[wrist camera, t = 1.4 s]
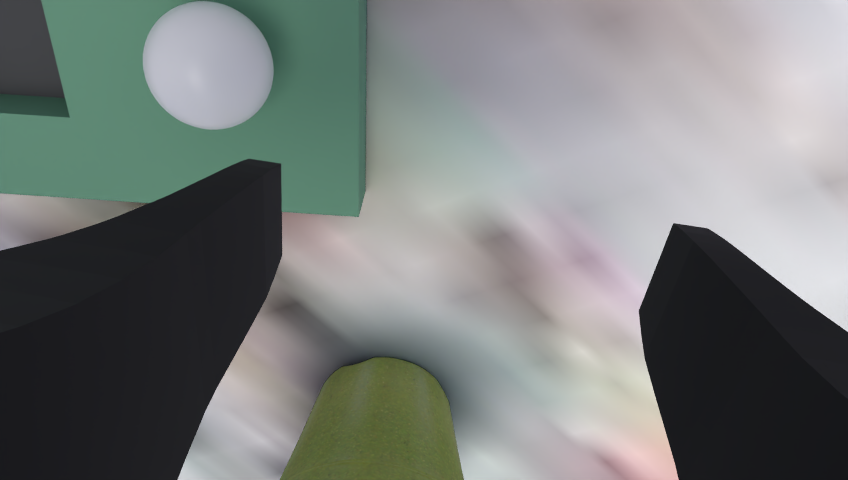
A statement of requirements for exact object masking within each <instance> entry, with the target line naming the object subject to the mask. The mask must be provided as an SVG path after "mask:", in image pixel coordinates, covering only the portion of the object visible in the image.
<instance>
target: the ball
mask: <svg viewBox="0 0 848 480" xmlns="http://www.w3.org/2000/svg"><path fill="white" fill-rule="evenodd" d="M143 70H144V74H145V79H146V82H147V84H148V87H149V89H150V91H151V93H152V94H153V96H154V98H155V99H156V100H157V102H158V103H159V104H160V105H161V106H162V107H163V108H164V109H165V110H166V111H167V112H168V113H169V114H170V115H172V116H173V117H175V118H176V119H178V120H179V121H181V122H183V123H185V124H188V125H191V126H193V127H197V128H201V129H209V130H218V129H226V128H230V127H234V126H236V125H239V124H241V123H243V122H245V121H247V120H248V119H250V118H251V117H252V116H253V115H254V114H256V113H257V112H258V111H259V109H260V108H261V107H262V106H263V104H264V103H265V101H266V99H267V97H268V95H269V93H270V90H271V87H272V82H273V75H274V66H273V59H272V55H271V51H270V49H269V46H268V44H267V41H266V40H265V38H264V36H263V34H262V33H261V31H260V30H259V29H258V28H257V26H256V25H255V24H254V23H253V22H252V21H251V20H250V19H249V18H247V17H246V16H245V15H243V14H242V13H241V12H239V11H237V10H235V9H233V8H231V7H229V6H227V5H224V4H220V3H217V2H209V1H195V2H189V3H186V4H182V5H179V6H177V7H175V8H173V9H171V10H170V11H168V12H167V13H165V14H164V15H163V16H161V17H160V18H159V19H158V20H157V22H156V23H155V24H154V26H153V27H152V29H151V30H150V32H149V34H148V36H147V39H146V42H145V45H144V51H143Z"/></svg>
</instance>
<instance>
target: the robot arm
mask: <svg viewBox="0 0 848 480" xmlns="http://www.w3.org/2000/svg"><path fill="white" fill-rule="evenodd" d="M281 257H282V189H281V163H275V162H268V161H262V160H255V159H246V160H243V161H240V162H238V163H236V164H233V165H231V166H229V167H227V168H224V169H222V170H220V171H218V172H216V173H214V174H212V175H210V176H208V177H206V178H204V179H202V180H199V181H197V182H195V183H193V184H191V185H189V186H187V187H185V188H183V189H181V190H178V191H176V192H174V193H172V194H170V195H168V196H165V197H163V198H161V199H158V200H156V201H153V202H151V203H149V204H146V205H144V206H142V207H139V208H137V209H134V210H132V211H130V212H127V213H125V214H123V215H120V216H117V217H115V218H112V219H110V220H107V221H104V222H101V223H98V224H95V225H93V226H89V227H86V228H83V229H80V230H77V231H74V232H70V233H67V234H64V235H61V236H57V237H54V238H50V239H47V240H42V241H38V242H34V243H30V244H26V245H22V246H18V247H14V248H10V249H6V250H2V251H0V480H177V479H178V477H179V474H180V472H181V469H182V466H183V464H184V461H185V459H186V456H187V454H188V451H189V449H190V447H191V444H192V442H193V439H194V437H195V435H196V432H197V430H198V427H199V425H200V423H201V420H202V418H203V415H204V413H205V411H206V409H207V406H208V404H209V402H210V400H211V398H212V396H213V394H214V392H215V390H216V388H217V387H218V385H219V383H220V381H221V379H222V378H223V376H224V374H225V372H226V370H227V369H228V367H229V365H230V363H231V361H232V360H233V358H234V356H235V354H236V352H237V351H238V349H239V347H240V345H241V343H242V342H243V340H244V338H245V336H246V334H247V333H248V331H249V329H250V327H251V325H252V323H253V322H254V320H255V318H256V316H257V314H258V312H259V311H260V309H261V307H262V305H263V303H264V301H265V299H266V297H267V295H268V292H269V290H270V287H271V284H272V282H273V279H274V277H275V274H276V271H277V268H278V265H279V263H280V260H281ZM639 316H640V326H641V335H642V342H643V349H644V356H645V361H646V364H647V368H648V372H649V375H650V379H651V382H652V386H653V390H654V393H655V397H656V400H657V403H658V407H659V410H660V414H661V417H662V420H663V424H664V427H665V431H666V434H667V438H668V441H669V444H670V448H671V451H672V455H673V458H674V462H675V465H676V470H677V474H678V478H679V480H848V332H847V331H846V330H844V329H843V328H841V327H840V326H838V325H837V324H836V323H834V322H833V321H831V320H830V319H828V318H827V317H826V316H824V315H823V314H821V313H820V312H819V311H817V310H816V309H814V308H813V307H812V306H810V305H809V304H808V303H806V302H805V301H804V300H802V299H801V298H800V297H798V296H797V295H796V294H794V293H793V292H792V291H790V290H789V289H788V288H786V287H785V286H784V285H783V284H781V283H780V282H779V281H777V280H776V279H775V278H774V277H772V276H771V275H770V274H769V273H767V272H766V271H765V270H763V269H762V268H761V267H760V266H758V265H757V264H756V263H755V262H753V261H752V260H751V259H749V258H748V257H747V256H746V255H744V254H743V253H742V252H741V251H739V250H738V249H737V248H735V247H734V246H733V245H731V244H730V243H729V242H727V241H726V240H725V239H723V238H722V237H720V236H719V235H717V234H716V233H714V232H713V231H711V230H709V229H707V228H701V227H695V226H688V225H681V224H675V223H673V226H672V228H671V231H670V233H669V236H668V238H667V241H666V243H665V246H664V248H663V251H662V254H661V256H660V259H659V261H658V264H657V266H656V269H655V271H654V274H653V276H652V279H651V281H650V284H649V286H648V289H647V292H646V294H645V297H644V299H643V302H642V304H641V307H640V309H639Z"/></svg>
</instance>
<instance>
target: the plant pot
mask: <svg viewBox="0 0 848 480" xmlns="http://www.w3.org/2000/svg"><path fill="white" fill-rule="evenodd" d="M280 480H464V478H463V473H462V469H461V464H460V459H459V454H458V449H457V444H456V438H455V432H454V427H453V421H452V416H451V411H450V405H449V401H448V399H447V397H446V395H445V393H444V391H443V389H442V388H441V386H440V384H439V382H438V381H437V380H436V378H435V377H434V376H432V375H431V374H430V373H429V372H427V371H426V370H424V369H423V368H421V367H419V366H417V365H415V364H413V363H410V362H407V361H404V360H400V359H395V358H387V357H374V358H371V359H369V360H366V361H364V362H361V363H358V364H354V365H351V366H343V367H341V368H339V369H338V370H337V371H335V372H334V373H333V374H332V375H331V376H330V377H329V378H328V379H327V380H326V382H325V383H324V385H323V387H322V389H321V391H320V394H319V396H318V398H317V400H316V402H315V404H314V407H313V409H312V411H311V413H310V416H309V418H308V420H307V423H306V425H305V427H304V429H303V432H302V434H301V436H300V438H299V440H298V443H297V445H296V447H295V449H294V451H293V453H292V455H291V457H290V459H289V462H288V464H287V466H286V468H285V470H284V472H283V474H282V476H281V478H280Z"/></svg>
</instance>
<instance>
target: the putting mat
mask: <svg viewBox="0 0 848 480" xmlns="http://www.w3.org/2000/svg"><path fill="white" fill-rule="evenodd" d="M195 1H209V2H217V3H220V4H224V5H227V6H229V7H231V8H233V9H235V10H237V11H239V12H241V13H242V14H243V15H245V16H246V17H247V18H249V19H250V20H251V21H252V22H253V23H254V24H255V25H256V26H257V28H258V29H259V30H260V31H261V33H262V34H263V36H264V38H265V40H266V41H267V44H268V46H269V49H270V51H271V55H272V59H273V66H274V75H273V82H272V87H271V90H270V93H269V95H268V97H267V99H266V101H265V103H264V104H263V106H262V107H261V108H260V109H259V111H258V112H257V113H256V114H254V115H253V116H252V117H251V118H250V119H248V120H247V121H245V122H243V123H241V124H239V125H236V126H234V127H230V128H226V129H218V130H209V129H201V128H197V127H193V126H191V125H188V124H185V123H183V122H181V121H179V120H178V119H176V118H175V117H173V116H172V115H170V114H169V113H168V112H167V111H166V110H165V109H164V108H163V107H162V106H161V105H160V104H159V103H158V102H157V100H156V99H155V98H154V96H153V94H152V93H151V91H150V89H149V87H148V84H147V82H146V79H145V74H144V70H143V51H144V45H145V42H146V39H147V36H148V34H149V32H150V30H151V29H152V27H153V26H154V24H155V23H156V22H157V20H158V19H159V18H160V17H161V16H163V15H164V14H165V13H167V12H168V11H170V10H171V9H173V8H175V7H177V6H179V5H182V4H186V3H189V2H195ZM366 25H367V0H0V193H5V194H20V195H35V196H50V197H66V198H81V199H96V200H111V201H126V202H141V203H151V202H153V201H156V200H158V199H161V198H163V197H165V196H168V195H170V194H172V193H174V192H176V191H178V190H181V189H183V188H185V187H187V186H189V185H191V184H193V183H195V182H197V181H199V180H202V179H204V178H206V177H208V176H210V175H212V174H214V173H216V172H218V171H220V170H222V169H224V168H227V167H229V166H231V165H233V164H236V163H238V162H240V161H243V160H246V159H255V160H262V161H268V162H275V163H281V189H282V212H293V213H308V214H323V215H339V216H354V217H359V213H360V210H361V206H362V202H363V198H364V194H365V159H366Z"/></svg>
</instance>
